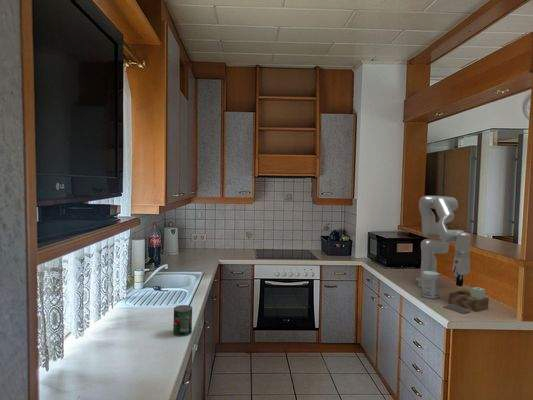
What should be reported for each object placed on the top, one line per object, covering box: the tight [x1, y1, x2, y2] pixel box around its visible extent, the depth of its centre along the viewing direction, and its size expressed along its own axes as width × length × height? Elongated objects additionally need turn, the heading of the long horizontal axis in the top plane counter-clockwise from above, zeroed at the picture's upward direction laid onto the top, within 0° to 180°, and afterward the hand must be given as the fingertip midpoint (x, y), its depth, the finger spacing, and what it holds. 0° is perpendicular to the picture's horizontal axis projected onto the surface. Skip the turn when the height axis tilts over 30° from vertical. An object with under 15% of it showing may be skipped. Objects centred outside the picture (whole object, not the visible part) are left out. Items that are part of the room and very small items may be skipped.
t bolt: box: [457, 285, 472, 294], centre depth 229 cm, size 7×6×3 cm
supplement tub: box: [421, 271, 440, 300], centre depth 239 cm, size 10×10×15 cm
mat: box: [442, 304, 472, 315], centre depth 217 cm, size 12×7×1 cm, turn 33°
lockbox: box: [448, 290, 490, 312], centre depth 224 cm, size 16×12×6 cm
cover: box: [471, 286, 486, 299], centre depth 219 cm, size 5×5×6 cm
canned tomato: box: [172, 304, 193, 337], centre depth 171 cm, size 8×8×11 cm
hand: (459, 285), depth 226 cm, fingers closed
